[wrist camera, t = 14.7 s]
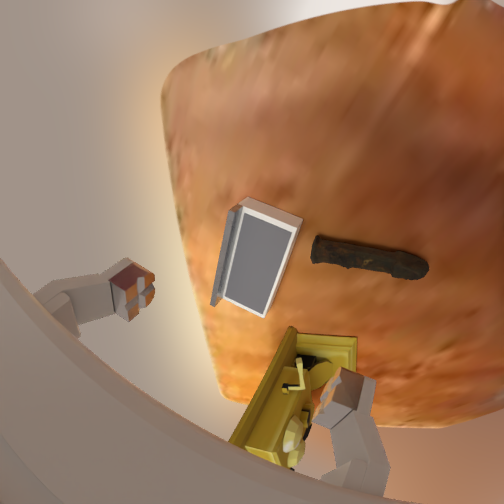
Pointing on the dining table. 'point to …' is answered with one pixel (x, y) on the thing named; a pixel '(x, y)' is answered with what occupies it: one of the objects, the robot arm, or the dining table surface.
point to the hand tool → (369, 259)
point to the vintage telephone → (291, 395)
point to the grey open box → (254, 255)
